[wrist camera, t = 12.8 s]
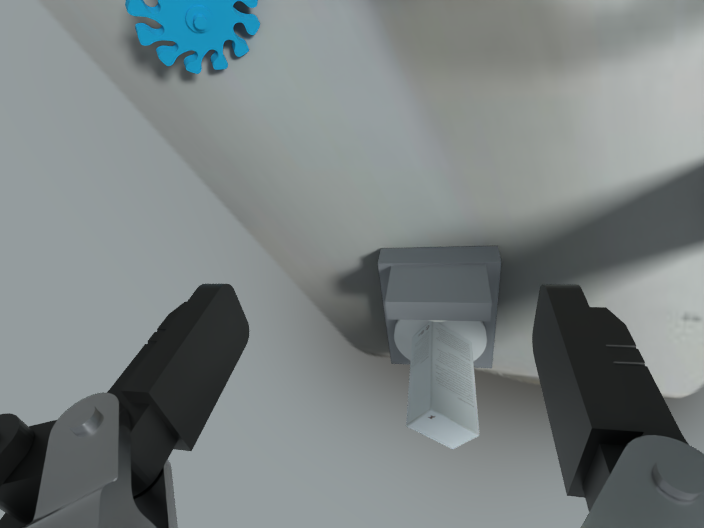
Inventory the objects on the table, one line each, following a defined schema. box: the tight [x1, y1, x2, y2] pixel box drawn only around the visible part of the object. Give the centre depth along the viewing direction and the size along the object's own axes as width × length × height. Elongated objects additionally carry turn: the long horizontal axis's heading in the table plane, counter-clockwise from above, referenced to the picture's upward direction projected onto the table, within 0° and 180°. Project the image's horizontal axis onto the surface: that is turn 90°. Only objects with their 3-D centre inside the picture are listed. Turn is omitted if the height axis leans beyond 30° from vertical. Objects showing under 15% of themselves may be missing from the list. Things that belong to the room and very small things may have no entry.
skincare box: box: [406, 321, 479, 449], centre depth 43 cm, size 6×4×12 cm
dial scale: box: [378, 246, 501, 368], centre depth 46 cm, size 13×17×9 cm
